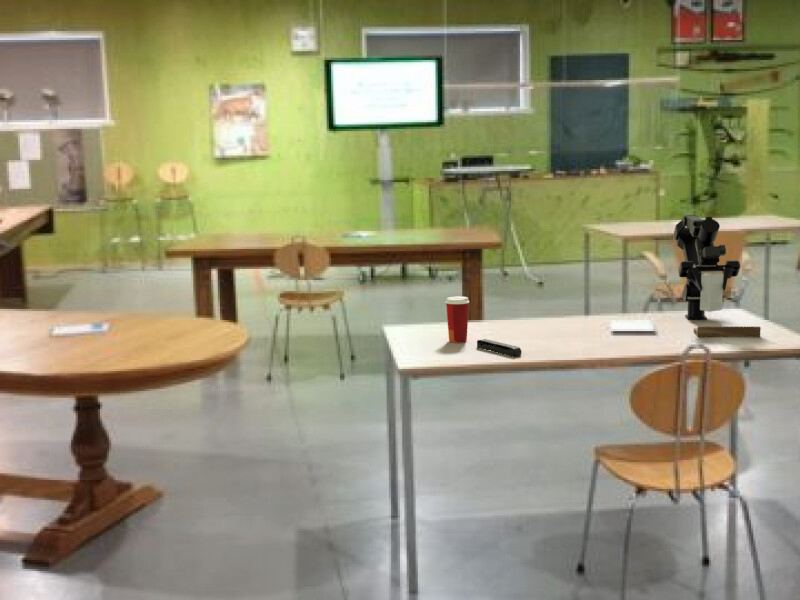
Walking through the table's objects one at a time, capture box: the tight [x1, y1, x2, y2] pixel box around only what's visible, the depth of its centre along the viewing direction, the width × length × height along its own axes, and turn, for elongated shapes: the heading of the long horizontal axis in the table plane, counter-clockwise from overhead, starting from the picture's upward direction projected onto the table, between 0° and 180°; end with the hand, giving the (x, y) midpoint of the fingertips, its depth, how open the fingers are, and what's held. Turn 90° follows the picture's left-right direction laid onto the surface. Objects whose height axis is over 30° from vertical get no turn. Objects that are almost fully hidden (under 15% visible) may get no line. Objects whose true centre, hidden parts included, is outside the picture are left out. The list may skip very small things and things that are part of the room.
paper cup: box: [444, 295, 470, 344], centre depth 318 cm, size 8×8×14 cm
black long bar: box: [476, 338, 523, 358], centre depth 302 cm, size 18×3×3 cm, turn 35°
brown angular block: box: [693, 326, 761, 338], centre depth 318 cm, size 8×19×3 cm, turn 83°
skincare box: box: [700, 272, 724, 313], centre depth 324 cm, size 6×4×12 cm
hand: (712, 290), depth 322 cm, fingers closed on skincare box, 7 cm apart
